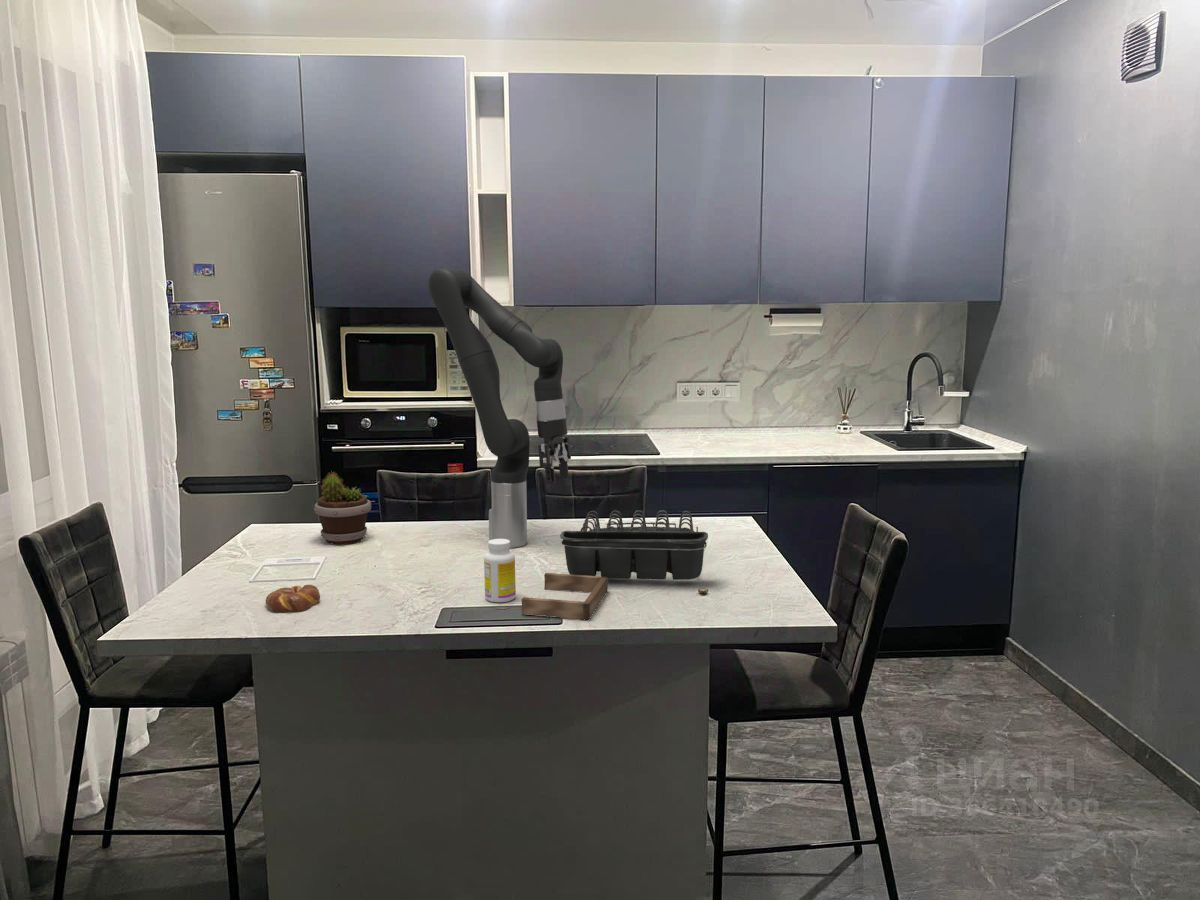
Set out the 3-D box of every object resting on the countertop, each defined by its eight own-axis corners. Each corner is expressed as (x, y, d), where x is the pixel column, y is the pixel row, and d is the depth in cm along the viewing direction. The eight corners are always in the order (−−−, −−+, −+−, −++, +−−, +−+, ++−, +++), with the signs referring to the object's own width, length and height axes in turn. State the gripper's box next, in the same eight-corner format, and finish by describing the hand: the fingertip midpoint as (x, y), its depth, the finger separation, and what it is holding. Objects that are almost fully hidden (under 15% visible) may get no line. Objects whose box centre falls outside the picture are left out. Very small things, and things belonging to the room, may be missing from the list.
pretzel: (298, 593, 198) (298, 577, 198) (333, 601, 193) (333, 585, 192) (253, 608, 188) (252, 591, 188) (289, 617, 183) (288, 600, 182)
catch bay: (521, 615, 184) (521, 598, 183) (546, 587, 201) (545, 572, 201) (588, 620, 181) (588, 604, 180) (607, 592, 198) (607, 576, 198)
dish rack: (557, 586, 203) (557, 535, 201) (581, 536, 247) (581, 493, 245) (707, 591, 200) (708, 539, 198) (704, 539, 243) (705, 496, 241)
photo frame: (326, 555, 224) (314, 577, 207) (326, 559, 224) (314, 581, 207) (265, 557, 222) (248, 579, 205) (265, 562, 222) (249, 584, 205)
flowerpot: (347, 530, 251) (344, 460, 248) (384, 539, 242) (381, 466, 239) (304, 541, 240) (300, 468, 236) (340, 550, 231) (337, 475, 227)
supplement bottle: (520, 595, 196) (519, 538, 194) (507, 605, 190) (506, 546, 188) (493, 592, 198) (492, 536, 196) (479, 601, 192) (478, 543, 190)
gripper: (549, 415, 234) (555, 476, 236) (525, 421, 221) (532, 486, 223) (575, 413, 232) (581, 475, 233) (553, 419, 218) (560, 484, 220)
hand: (557, 480), depth 228 cm, fingers open, 8 cm apart
